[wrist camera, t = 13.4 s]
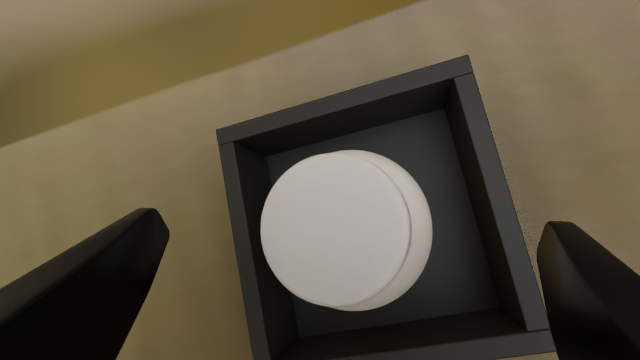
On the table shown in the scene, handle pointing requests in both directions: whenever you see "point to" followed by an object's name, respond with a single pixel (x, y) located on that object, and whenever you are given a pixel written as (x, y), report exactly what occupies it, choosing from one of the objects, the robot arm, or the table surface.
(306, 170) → the supplement bottle
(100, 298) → the robot arm
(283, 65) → the table surface
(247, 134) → the bin
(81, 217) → the table surface
